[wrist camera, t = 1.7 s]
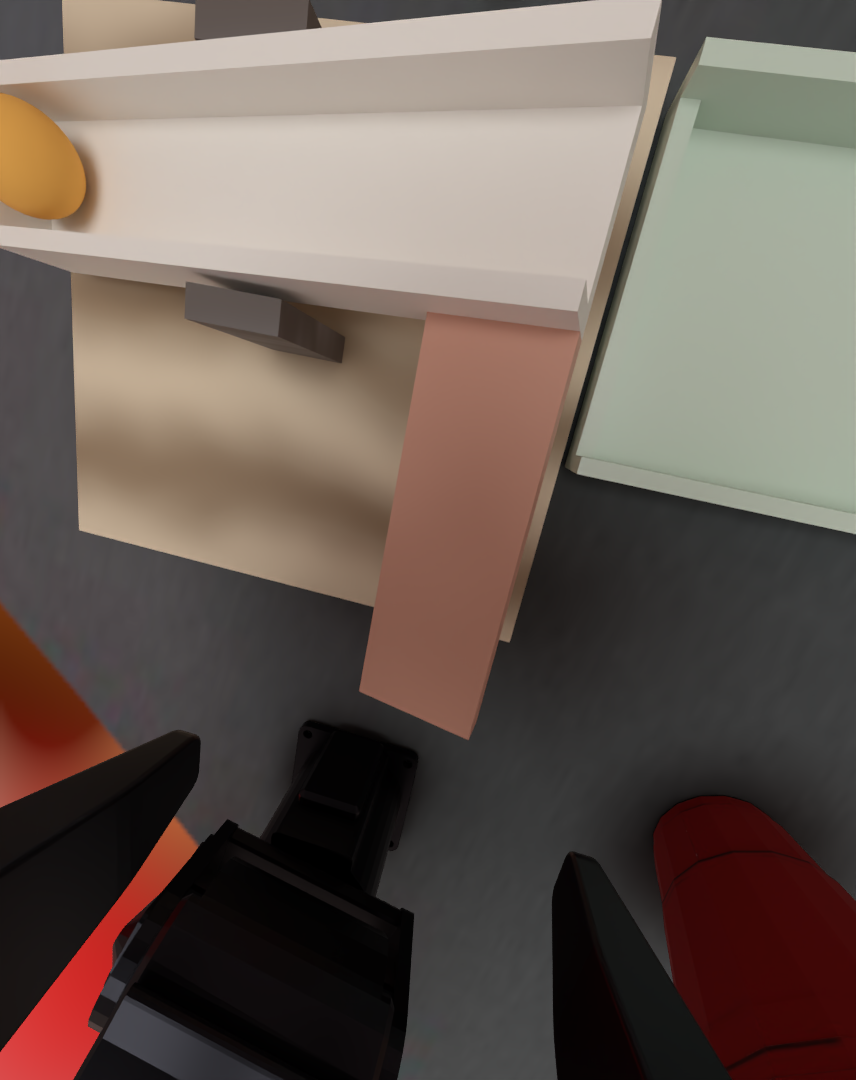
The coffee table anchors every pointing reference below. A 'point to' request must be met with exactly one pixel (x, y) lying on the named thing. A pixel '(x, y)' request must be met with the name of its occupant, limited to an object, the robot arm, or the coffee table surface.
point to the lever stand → (262, 381)
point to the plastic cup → (758, 942)
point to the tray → (739, 296)
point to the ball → (37, 163)
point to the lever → (384, 250)
